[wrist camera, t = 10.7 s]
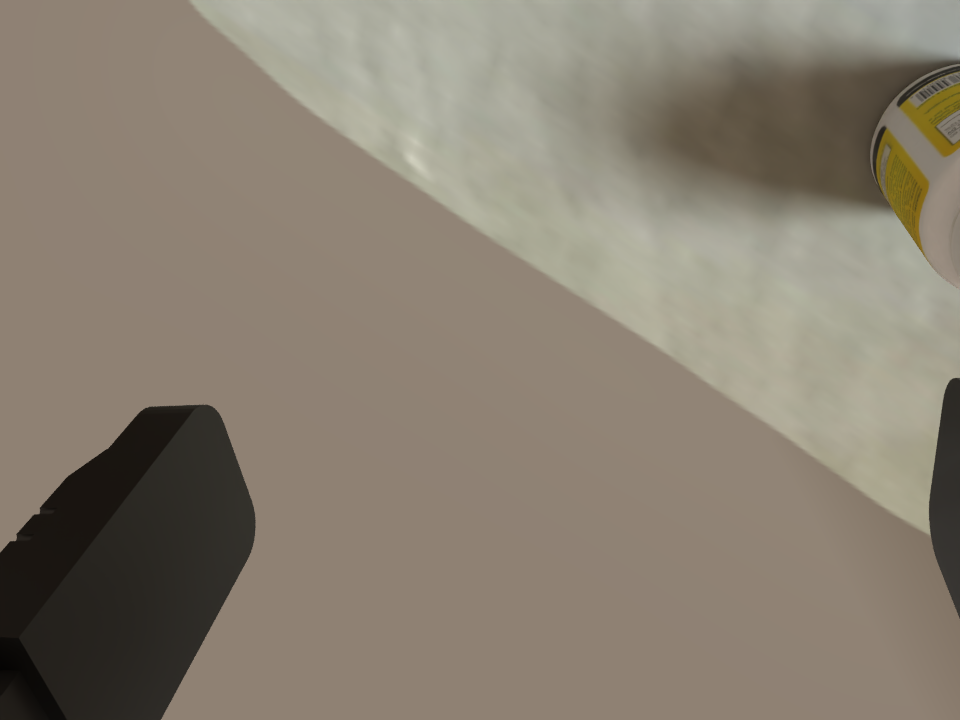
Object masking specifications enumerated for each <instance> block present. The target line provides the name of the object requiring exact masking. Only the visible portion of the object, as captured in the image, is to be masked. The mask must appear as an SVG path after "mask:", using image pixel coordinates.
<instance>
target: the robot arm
mask: <svg viewBox="0 0 960 720" xmlns="http://www.w3.org/2000/svg"><path fill="white" fill-rule="evenodd" d="M929 521H930V532H931V538H932V544H933V549H934V552H935V556H936V559H937V562H938V564H939V567H940V570H941V572H942V575H943V577H944V580H945V582H946V585H947V587H948V590H949V593H950V595H951V597H952V600H953V603H954V605H955V608H956V610H957V613H958V615H959V618H960V378H953V379H952V380H950V382H949V383H948V385H947V387H946V390H945V394H944V399H943V405H942V413H941V420H940V427H939V434H938V441H937V449H936V456H935V463H934V470H933V478H932V485H931V492H930V501H929ZM254 536H255V512H254V507H253V504H252V500H251V498H250V495H249V492H248V489H247V486H246V484H245V481H244V479H243V475H242V473H241V470H240V467H239V464H238V461H237V459H236V456H235V453H234V450H233V447H232V445H231V442H230V439H229V437H228V434H227V431H226V428H225V425H224V423H223V420H222V418H221V416H220V414H219V413H218V412H217V410H215V408H213V407H212V406H209V405H184V406H158V407H148V408H145V409H143V410H142V411H141V412H140V413H139V414H138V415H137V416H136V417H135V418H134V419H133V421H132V422H131V423H130V424H129V425H128V426H127V428H126V429H125V430H124V431H123V432H122V433H121V434H120V436H119V437H118V438H117V439H116V440H115V441H114V443H113V444H112V445H111V446H110V447H109V448H108V449H106V450H105V451H103V452H102V453H101V454H99V455H98V456H97V457H95V458H94V459H92V460H91V461H89V462H88V463H86V464H85V465H84V466H82V467H81V468H79V469H78V470H76V471H75V472H74V473H72V474H71V475H69V476H68V477H67V478H66V479H65V480H64V481H63V482H62V484H61V485H60V486H59V487H58V488H57V489H56V490H55V491H54V493H53V494H52V495H51V496H50V497H49V498H48V499H47V501H46V502H45V503H44V504H43V505H42V506H41V507H40V514H37V515H33V516H32V518H31V519H30V520H29V521H28V522H27V523H26V524H25V525H24V527H23V528H22V529H21V530H20V531H19V532H18V533H17V540H16V541H10V542H9V543H8V544H7V546H6V547H5V548H4V549H3V550H2V551H1V552H0V720H161V718H162V717H163V715H164V713H165V711H166V709H167V707H168V705H169V704H170V702H171V700H172V698H173V696H174V694H175V692H176V690H177V689H178V687H179V685H180V683H181V681H182V679H183V677H184V676H185V674H186V672H187V670H188V668H189V667H190V665H191V663H192V661H193V659H194V657H195V656H196V654H197V652H198V650H199V648H200V646H201V644H202V642H203V641H204V639H205V637H206V635H207V633H208V632H209V630H210V627H211V626H212V624H213V622H214V620H215V619H216V617H217V615H218V613H219V611H220V609H221V607H222V606H223V604H224V602H225V600H226V598H227V596H228V595H229V593H230V591H231V589H232V587H233V585H234V583H235V582H236V580H237V578H238V576H239V574H240V572H241V571H242V569H243V567H244V565H245V563H246V561H247V559H248V557H249V555H250V553H251V550H252V547H253V543H254Z"/></svg>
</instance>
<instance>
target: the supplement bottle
mask: <svg viewBox="0 0 960 720" xmlns="http://www.w3.org/2000/svg"><path fill="white" fill-rule="evenodd" d="M870 163H871V169H872V173H873V176H874V179H875V182H876V184H877V185H878V187H879V189H880V191H881V192H882V194H883V195H884V197H885V198H886V200H887V201H888V203H889V204H890V206H891V207H892V209H893V210H894V212H895V213H896V215H897V217H898V218H899V219H900V221H901V222H902V224H903V225H904V227H905V228H906V230H907V231H908V233H909V234H910V235H911V237H912V238H913V240H914V241H915V243H916V244H917V246H918V247H919V249H920V250H921V252H922V253H923V255H924V256H925V258H926V259H927V261H928V262H929V264H930V265H931V266H932V267H933V269H934V270H935V271H936V272H937V273H938V274H939V275H940V276H941V277H942V278H944V279H945V280H946V281H947V282H949V283H950V284H952V285H953V286H955V287H956V288H958V289H960V64H956V65H951V66H947V67H943V68H941V69H938V70H935V71H933V72H930V73H928V74H926V75H924V76H922V77H921V78H919V79H917V80H916V81H914V82H913V83H912V84H910V85H909V86H908V87H906V88H905V89H904V90H903V91H902V92H900V93H899V95H898V96H897V97H896V98H895V99H894V100H893V101H892V102H891V103H890V105H889V106H888V107H887V109H886V110H885V112H884V114H883V115H882V117H881V119H880V121H879V123H878V125H877V127H876V130H875V133H874V136H873V139H872V144H871V150H870Z"/></svg>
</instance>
